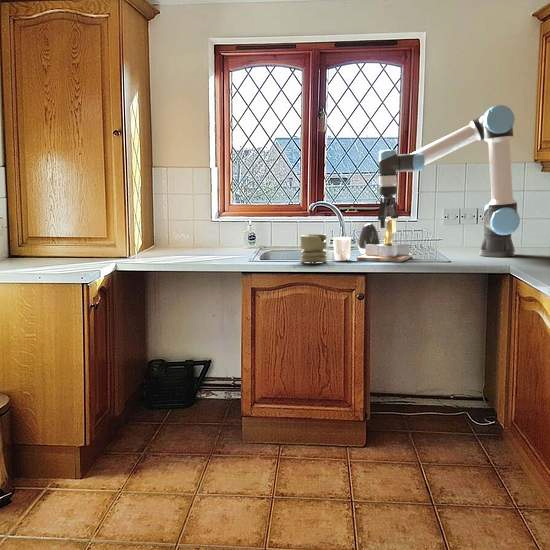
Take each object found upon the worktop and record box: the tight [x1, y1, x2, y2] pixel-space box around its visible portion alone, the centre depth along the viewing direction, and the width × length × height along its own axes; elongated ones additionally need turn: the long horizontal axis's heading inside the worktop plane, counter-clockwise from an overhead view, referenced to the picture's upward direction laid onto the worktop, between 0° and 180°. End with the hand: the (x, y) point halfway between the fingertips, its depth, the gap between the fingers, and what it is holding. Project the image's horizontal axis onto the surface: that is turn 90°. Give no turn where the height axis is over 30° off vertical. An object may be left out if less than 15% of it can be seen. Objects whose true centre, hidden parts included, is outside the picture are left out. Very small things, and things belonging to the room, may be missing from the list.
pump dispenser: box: [357, 222, 381, 255], centre depth 303 cm, size 10×10×15 cm
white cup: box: [332, 236, 352, 262], centre depth 287 cm, size 8×8×10 cm
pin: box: [383, 219, 393, 246], centre depth 284 cm, size 4×4×16 cm
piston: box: [300, 233, 328, 263], centre depth 282 cm, size 11×12×11 cm
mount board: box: [356, 253, 413, 263], centre depth 287 cm, size 20×16×2 cm
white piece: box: [366, 243, 410, 257], centre depth 287 cm, size 18×12×5 cm, turn 62°
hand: (388, 234), depth 284 cm, fingers open, 13 cm apart
